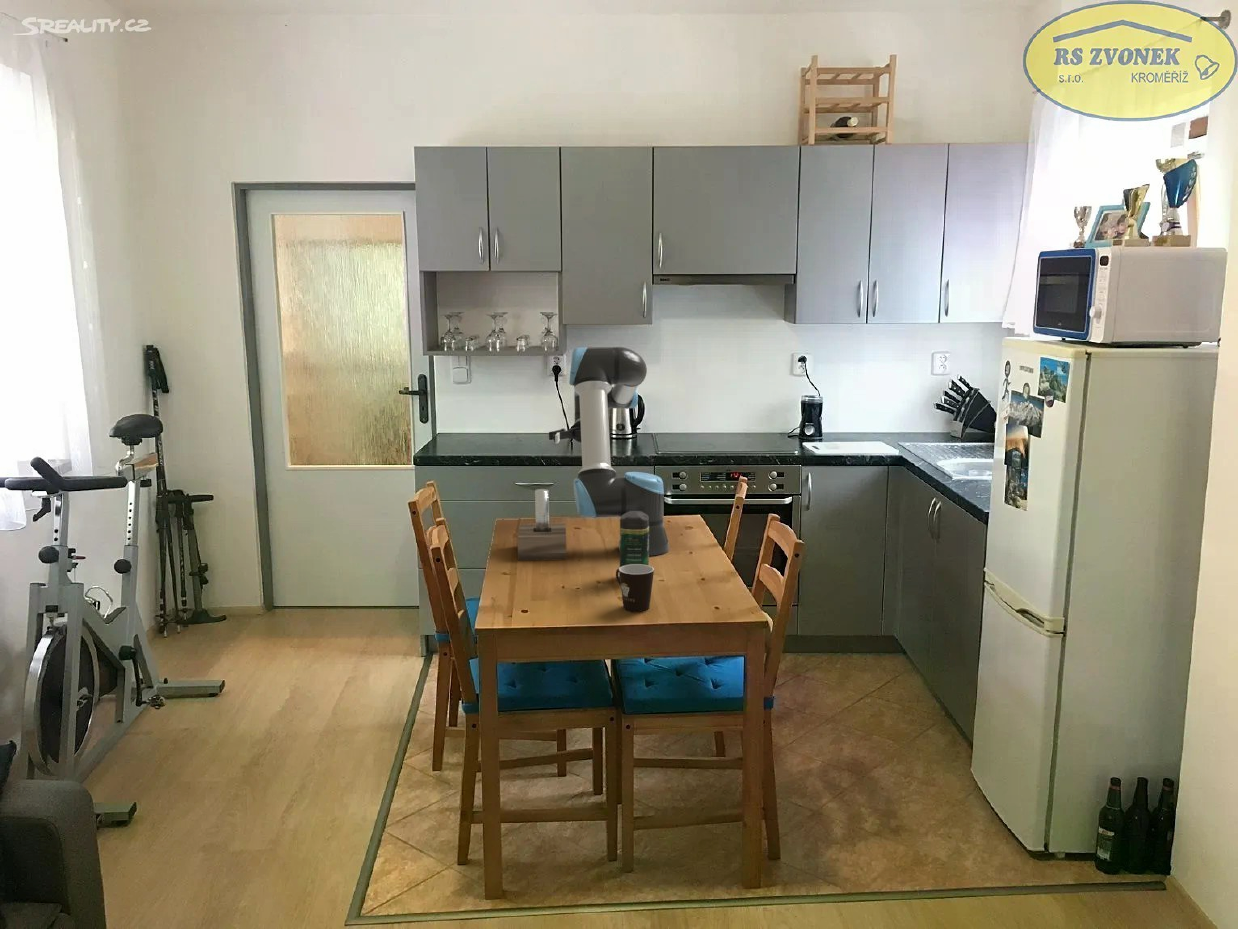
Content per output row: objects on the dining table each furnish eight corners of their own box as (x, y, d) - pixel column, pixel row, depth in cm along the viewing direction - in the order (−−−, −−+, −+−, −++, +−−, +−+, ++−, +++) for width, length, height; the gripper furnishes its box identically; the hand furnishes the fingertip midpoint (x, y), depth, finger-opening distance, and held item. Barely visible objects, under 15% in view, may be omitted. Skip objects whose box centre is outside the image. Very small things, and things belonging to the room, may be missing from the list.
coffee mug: (657, 612, 236) (657, 573, 234) (623, 615, 234) (623, 575, 232) (646, 598, 247) (646, 560, 245) (613, 600, 245) (613, 562, 243)
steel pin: (551, 546, 289) (551, 490, 286) (540, 548, 286) (540, 492, 283) (544, 543, 292) (543, 488, 289) (533, 545, 290) (532, 490, 286)
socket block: (566, 559, 282) (566, 536, 281) (518, 560, 281) (517, 537, 280) (565, 545, 298) (565, 523, 297) (520, 546, 297) (519, 523, 296)
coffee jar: (647, 585, 258) (648, 517, 254) (618, 584, 258) (618, 516, 255) (650, 574, 267) (650, 508, 264) (621, 573, 268) (621, 508, 265)
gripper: (619, 441, 332) (616, 451, 311) (546, 440, 333) (539, 451, 312) (619, 419, 330) (616, 428, 309) (546, 419, 331) (538, 427, 310)
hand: (577, 439), depth 311 cm, fingers open, 13 cm apart
